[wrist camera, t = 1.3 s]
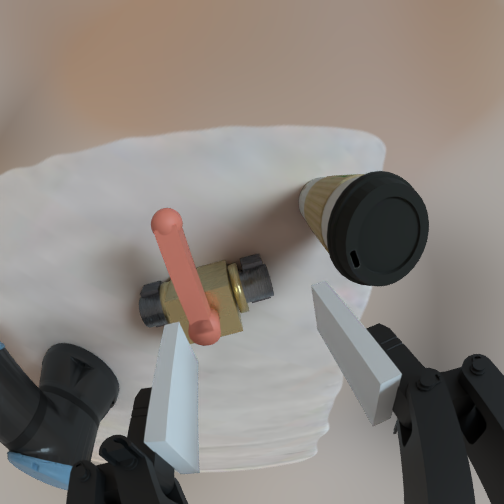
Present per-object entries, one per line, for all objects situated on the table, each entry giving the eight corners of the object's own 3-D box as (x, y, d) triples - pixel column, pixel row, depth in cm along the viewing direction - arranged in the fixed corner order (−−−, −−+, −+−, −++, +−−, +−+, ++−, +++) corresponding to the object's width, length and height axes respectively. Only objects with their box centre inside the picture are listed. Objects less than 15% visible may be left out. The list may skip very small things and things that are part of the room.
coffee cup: (364, 218, 35) (440, 257, 21) (303, 252, 35) (356, 314, 21) (339, 150, 31) (419, 155, 17) (270, 184, 31) (316, 208, 17)
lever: (223, 326, 29) (224, 342, 26) (195, 333, 29) (194, 349, 26) (181, 200, 24) (177, 206, 21) (148, 211, 24) (141, 218, 21)
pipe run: (158, 318, 36) (149, 352, 29) (141, 281, 34) (127, 311, 27) (269, 289, 37) (282, 319, 30) (259, 248, 35) (271, 273, 28)
